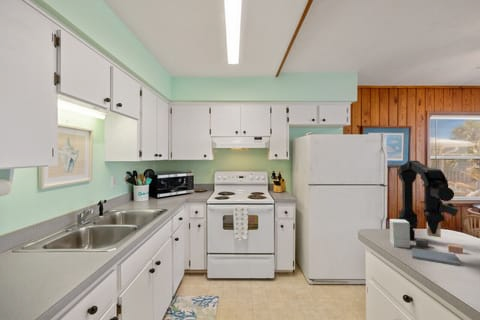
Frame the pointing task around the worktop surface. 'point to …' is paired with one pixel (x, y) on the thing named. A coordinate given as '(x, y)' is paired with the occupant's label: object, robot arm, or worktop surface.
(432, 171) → the robot arm
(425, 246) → the smooth grey pebble
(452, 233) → the worktop surface
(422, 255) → the slate board
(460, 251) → the terracotta tile
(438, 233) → the beech block
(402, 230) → the supplement box
